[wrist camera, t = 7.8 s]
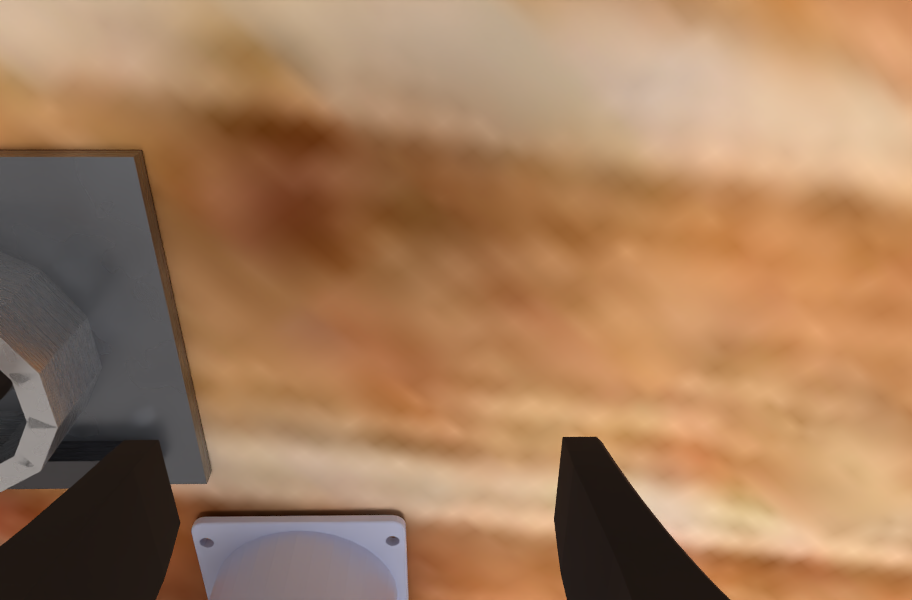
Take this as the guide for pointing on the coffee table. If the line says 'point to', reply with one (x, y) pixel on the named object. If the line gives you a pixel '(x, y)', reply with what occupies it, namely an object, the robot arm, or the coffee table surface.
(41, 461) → the cup bracket
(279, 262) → the coffee table surface
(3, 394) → the dowel
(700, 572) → the robot arm
